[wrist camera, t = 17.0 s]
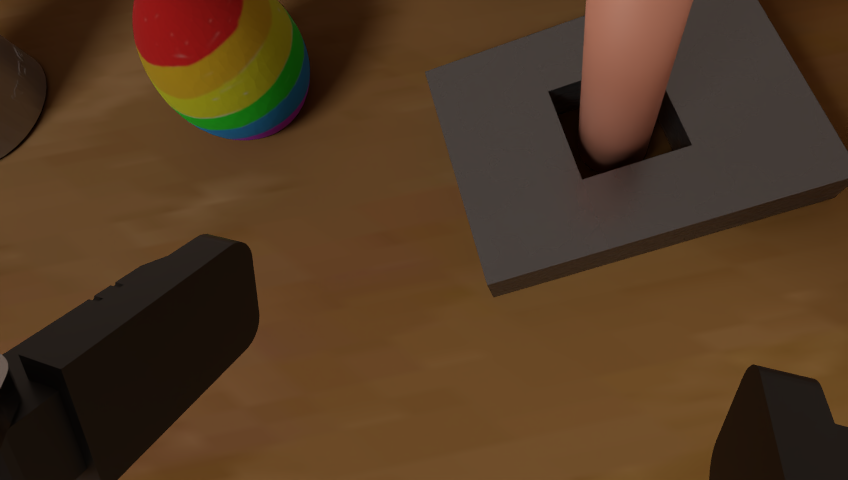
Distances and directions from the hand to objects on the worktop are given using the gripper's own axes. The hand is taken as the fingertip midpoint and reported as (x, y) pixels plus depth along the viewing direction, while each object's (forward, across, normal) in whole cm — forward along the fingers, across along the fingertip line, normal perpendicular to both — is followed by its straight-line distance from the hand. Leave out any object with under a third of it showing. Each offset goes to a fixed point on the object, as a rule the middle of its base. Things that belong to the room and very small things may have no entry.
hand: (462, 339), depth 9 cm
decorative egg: (+22, +19, +4) cm, 30 cm away
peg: (+22, -2, +4) cm, 23 cm away
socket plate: (+22, -2, +4) cm, 23 cm away
